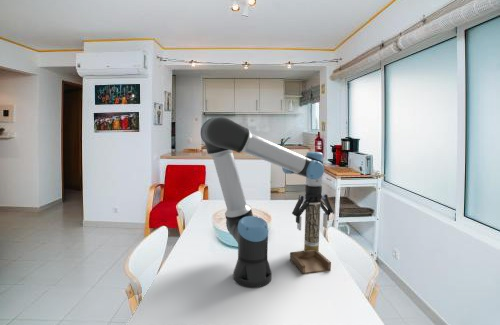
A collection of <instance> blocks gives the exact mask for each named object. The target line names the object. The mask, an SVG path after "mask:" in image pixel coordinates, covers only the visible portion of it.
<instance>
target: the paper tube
mask: <svg viewBox="0 0 500 325" xmlns="http://www.w3.org/2000/svg"><path fill="white" fill-rule="evenodd" d="M306 203H308V202H307V201H306ZM304 213H305V215H304V216H305V217H304V218H305V219H304V220H305V221H304V244H303V245H304V250H303V251H307V250H317V251H319V249H320V247H319V245H320V242H319V241H320V229H321V228H320V225H321V224H320V223H321V207H320V202H311V203H309V206H307V208H306V209H305V211H304ZM319 252H320V251H319Z"/></svg>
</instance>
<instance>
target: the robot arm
mask: <svg viewBox="0 0 500 325" xmlns="http://www.w3.org/2000/svg"><path fill="white" fill-rule="evenodd" d="M199 132H200V138H201V140H202V141H203V143H204V147H205V149H206V153H207V155H209V156H210V157H212V160H213V164H214V167H215V170H216V174H217V177H218V181H219V185H220V188H221V192H222V196H223V198H224V203H225V205H226V210H225V212H224V216H225V224H226V225H225V226H226V229H227V231H228V233H229V234H230V235H231V236H232V237H233V239H234V240H235V241H236V243H237V246H238V247H237V260H236V264H235V267H234V269H233V280H234V282H235V283H236V284H238V285H240V286H241V287H245V288H251V289H253V288H254V289H255V288H260V287H264V286H267V285H269V283H270V282H271V281H272V269H271V266H270V263H269V260H268V247H269V246H268V244H269V242H268V240H269V226H268V222H267V221H266V220H265V219H263V218H262V217H258V216H255V215H253V214H254V213H253V210H252V206H251V205H249V204H247V202H246V198H245V193H244V190H243V187H242V186H243V185H242V183H241V179H240V175H239V174H240V173H239V171H238V167H237V164H236V159H235V156H234V152H236V153H239V154H240V153H242V152H244V153H246V154H248V155H251V156H253V157H255V158H258V159H261V160H263V161H265V162H268V163H271V164H273V165H276V166H278V167H280V168H282V169H281V170H282V171H283V173H284V174H287V175H292V174H295V175H298V176H301V177H305V190H304V192H305V195H301V194H299V195H298V199H297V202H296V204H295V206H294V208H293V211H291V214H292V215H293V216H295V223H297V225H296V226H297V227H296V228H297V230H298V231H302V214H304V213H305V211H306V208H307V206H309V203H311V202H320V209H322V211H323V212H324V213H322V215H323V216H322V227H323V228H325V229H327V228H328V221H329V219H330V215H331V214H332V213H334V210H333V208H332V206H331V203H330V201H329V196H328V194H327V193H323V194H322V192H323V185H322V184H323V175H324V172H325V166H324V154H323V153H322V152H319V151H307V152H306V156H304V155H302V154H300V153H298V152H296V151H293V150H290V149H288V148H286V147H284V146H281V145H279V144H277V143H275V142H272V141H270V140H267V139H265V138H263V137H261V136H259V135H256V134H254V133H251V130H250V129H249V128H247V127H245V126H243V125H241V124H240V123H237V122H235V121H233V120H231V119H229V118H227V117H223V116H221V117H220V116H219V117H211V118H208V119H207V120H206V121H204V122H203V123H202V125H201V127H200V131H199ZM321 199H322V200H323V202H324V203H323V202H322V201H321ZM306 201H307V202H308V203H306ZM324 204H325V205H324Z"/></svg>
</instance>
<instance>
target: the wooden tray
mask: <svg viewBox="0 0 500 325" xmlns="http://www.w3.org/2000/svg"><path fill="white" fill-rule="evenodd" d="M289 261H290V262H291V263H292V264H293V265H294V267H295V268H297V270H298V271H299V272H300V273H301V274H302V275H307V274H315V273H322V272H328V271H329V272H330V271H331V270H332V262H331V261H330V260H329V259H328V258H326V257H325V255H323V254H322V253H321V252H320V251H317V250H307V251H304V250H299V251H298V250H297V251H291V252H289Z"/></svg>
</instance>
